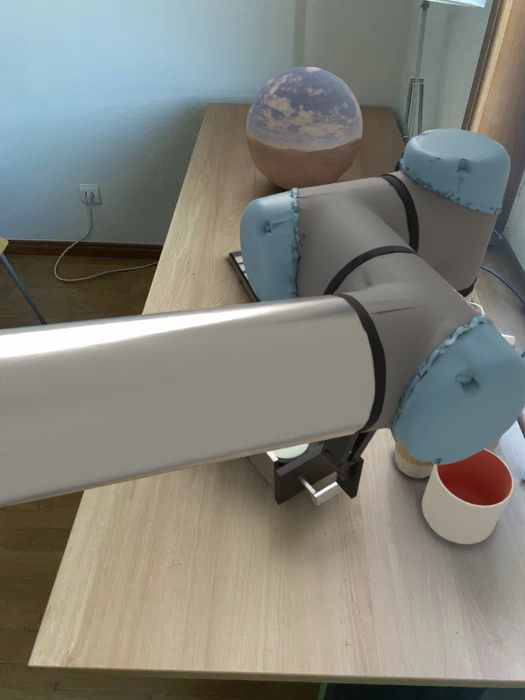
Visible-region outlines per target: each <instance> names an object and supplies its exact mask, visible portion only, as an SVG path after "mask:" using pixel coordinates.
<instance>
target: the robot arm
mask: <svg viewBox="0 0 525 700" xmlns="http://www.w3.org/2000/svg"><path fill="white" fill-rule="evenodd" d="M510 171H511V158H510V155H509V152H508V151H507V149H505V147H504V146H503V145H501V143H499V142H498V141H496V140H494V139H492V138H491V137H489V136H487V135H484V134H483V133H479V132H475V131H471V130H466V129H460V128H435V129H428V130H425V131H423V132H420V134H419V135H414V136H413V137H411V138H410V140H408V141H407V143H406V145H405V147H404V150H403V155H402V157H401V159H400V160H399V170H397V171H393V172H388V173H383V174H381V175H379V176H373V177H366V178H359V179H352V180H347V181H341V182H334V183H332V184H327V185H320V186H314V187H307V188H301V189H298V188H292V189H291V190H287V191H283V192H280V193H275V194H271V195H267V196H263V197H259V198H255V199H253V200H251V201H250V202H249V203H248V204H246V205H247V206H246V207H245V208H244V210H243V212H242V215H241V218H240V223H239V244H240V251H241V252H242V259H243V263H244V268H245V271H246V274H247V278H248V280H249V283H250V285H251V287H252V289H253V291H254V293H255V294H256V296H257V297H258V298H259V299H260V300H262V301H265V302H257V303H254V302H250V303H238V304H231V305H230V304H229V305H219V306H211V307H201V308H192V309H191V308H190V309H181V310H173V311H162V312H153V313H143V314H135V315H133V314H132V315H125V316H116V317H106V318H95V319H86V320H78V321H77V320H76V321H70V322H59V323H50V324H49V323H48V324H41V325H40V324H39V325H30V326H19V327H11V328H1V329H0V509H2V508H6V507H12V506H17V505H21V504H26V503H30V502H35V501H40V500H41V501H42V500H46V499H50V498H55V497H59V496H63V495H69V494H74V493H78V492H84V491H88V490H92V489H97V488H101V487H107V486H111V485H112V486H113V485H116V484H122V483H127V482H131V481H135V480H141V479H144V478H150V477H155V476H161V475H165V474H169V473H174V472H178V471H182V470H187V469H192V468H197V467H202V466H206V465H207V466H208V465H213V464H217V463H222V462H226V461H231V460H236V459H240V458H246V457H248V456H250V455H255V454H260V453H265V452H269V451H274V450H279V449H284V448H289V447H293V446H298V445H303V444H308V443H312V442H317V441H322V440H325V443H324V445H323V448H322V450H321V453H322V454H323V455H324V456H325V457H326V458H327V460H328V461H329V462H330V463H331V464H332V465H333V466H334V467H335V472H334V473H336V476H335V481H336V483H337V484H338V485H339V486H340V487H341V488H342V489H343V490H342V491H343V492H344V493H345V494H346V495H347V496H348V498H350V500H353V499H354V498H356V497H357V496H358V491H359V486H360V481H361V477H362V471H363V468H364V462H365V459H364V458H363V457H362V455H363V453H364V451H365V450H366V449H367V447H368V445H369V443H370V442H371V440H372V439H373V437H374V436H375V435H376V433H377V431H378V430H383V429H388V430H390V433H391V436H392V439H393V440H394V442H395V441H398V443H400V444H401V445H402V446H403V447H404V448H405V449H406V450H407V452H408V453H409V454H410V455H411V456H412V457H413V458H414V459H416V460H419V461H421V462H428V461H429V462H431V463H432V464H435V465H443V464H450V463H454V462H458V461H461V460H463V459H466V458H468V457H470V456H472V455H474V454H476V453H478V452H480V451H482V450H483V449H485V448H486V447H488V446H489V445H491V444H492V443H494V442H495V441H496V440H497V439H499V438H500V437H501V438H502V436H504V435H505V434H506V433H507V432H508V431H509V430H510V429H511V428H512V427H513V426H514V424H515V423H516V422H517V421H518V420H519V417H520V415H521V413H522V411H523V410H524V409H525V359H524V358H523V357H522V356H521V355H520V353H519V352H518V351H517V350H516V348H515V349H514V348H513V347H512V346H511V345H510V344H509V343H508V341H507V340H506V339H505V338H504V337H503V336H502V335H501V334H502V333H501V332H500V331H499V329H498V328H496V326H495V323H494V321H493V320H492V319H491V318H490V317H488V315H486V314H483V313H482V312H481V311H479V310H478V308H476V307H475V306H474V305H473V304H472V303H471V302H472V298H473V294H474V291H475V288H476V284H477V280H478V276H479V273H480V270H481V267H482V264H483V261H484V258H485V256H486V252H487V249H488V247H489V244H490V242H491V241H490V240H491V237H492V235H493V232H494V229H495V226H496V224H497V220H498V217H499V215H500V214H501V212H502V211H503V202H504V199H505V193H506V190H507V186H508V181H509V177H510V176H509V175H510ZM501 438H500V439H501Z"/></svg>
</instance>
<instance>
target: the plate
mask: <svg viewBox="0 0 525 700" xmlns="http://www.w3.org/2000/svg"><path fill="white" fill-rule="evenodd" d="M308 449H309V443H308V444H303V445H298V446H293V447H289V448H284V449H279V450H274V451H272V452H273V454H274V455H275V456H276V457H277V458H278V460H279V461H278V462H280V463H290V462H292V461H294V460H295V459H297V458H299V457H301V456H302V455H304V454H306V453H307V452H308Z"/></svg>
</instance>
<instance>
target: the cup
mask: <svg viewBox="0 0 525 700" xmlns="http://www.w3.org/2000/svg"><path fill="white" fill-rule="evenodd" d="M514 491H515V480H514V475H513V473H512V471H511V469H510V468H509V466H508V465H507V464H506V462H505V461H504V460H503V459H502V458H501V457H500V456H498V455H497V454H496V453H495V452H494V453H493V452H491V451H489V450H487V449H483V450H482V451H480V452H478V453H476V454H474V455H472V456H470V457H468V458H466V459H463V460H461V461H458V462H454V463H450V464H443V465H435V464H434V467H433V470H432V472H431V475H429V479H428V482H427V485H426V487H425V490H424V493H423V495H422V499H421V510H422V514H423V518H424V519H425V521H426V522H427V524H428V525H429V527H430V528H431V529H432V530H433V531H434V533H436V534H437V535H438V536H440V537H441V538H443V539H445V540H447V541H449V542H452V543H454V544H458V545H474V544H478V543H480V542H482V541H484V540H486V539H487V538H489V536H490V535H491V534H492V533H493V531H494V530H495V528H496V526H497V524H498V522H499V520H500V518H501V516H502V514H503V513H504V511H505V510H506V507H507V505H508V504H509V501H510V499H511V498H512V496H513V493H514Z"/></svg>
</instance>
